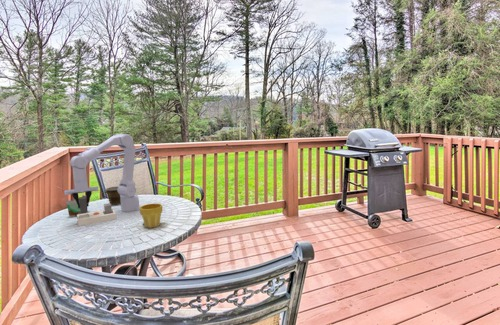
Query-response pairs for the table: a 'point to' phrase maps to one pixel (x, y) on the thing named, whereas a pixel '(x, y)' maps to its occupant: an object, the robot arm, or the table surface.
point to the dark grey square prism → (83, 204)
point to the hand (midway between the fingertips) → (83, 206)
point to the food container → (73, 208)
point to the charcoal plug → (107, 208)
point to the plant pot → (151, 214)
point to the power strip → (95, 217)
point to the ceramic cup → (113, 195)
